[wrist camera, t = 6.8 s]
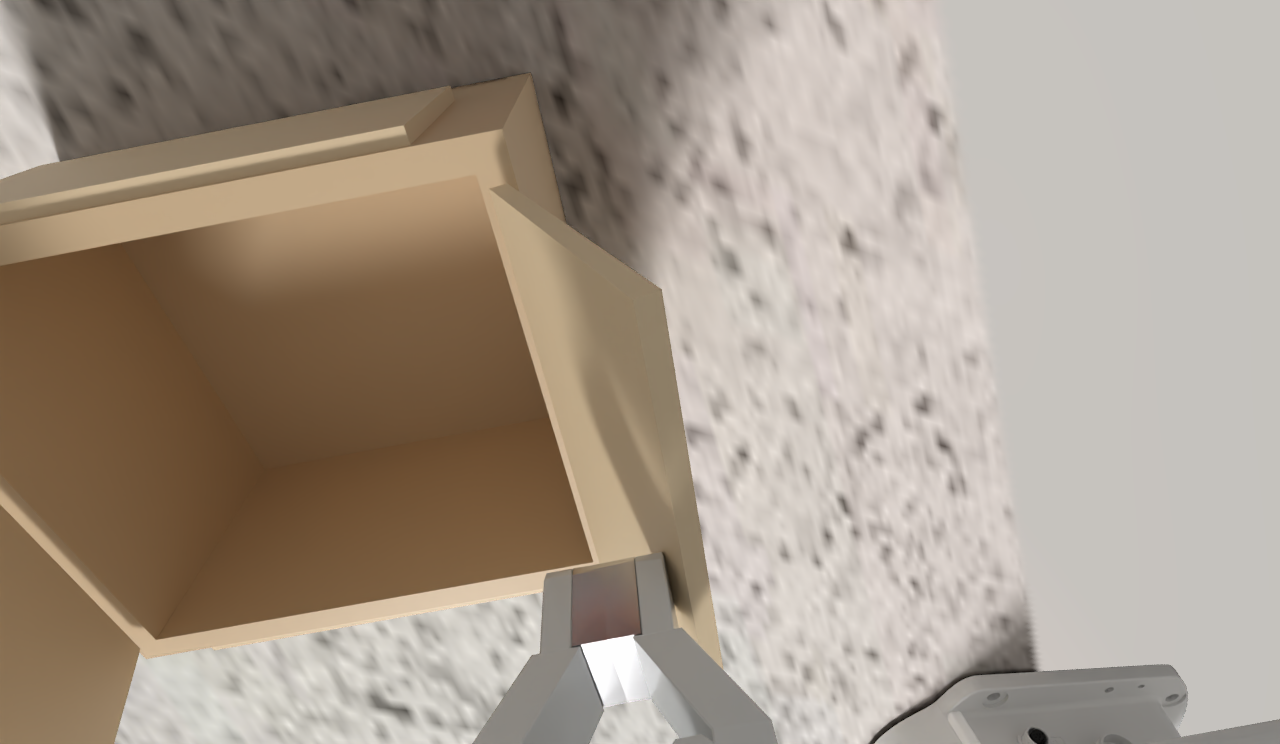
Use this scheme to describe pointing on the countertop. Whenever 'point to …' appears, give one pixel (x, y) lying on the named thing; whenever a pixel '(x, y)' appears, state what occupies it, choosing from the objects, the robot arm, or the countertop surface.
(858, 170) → the countertop surface
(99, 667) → the flap
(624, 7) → the countertop surface
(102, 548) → the carton
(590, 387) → the flap
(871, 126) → the countertop surface
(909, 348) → the countertop surface
